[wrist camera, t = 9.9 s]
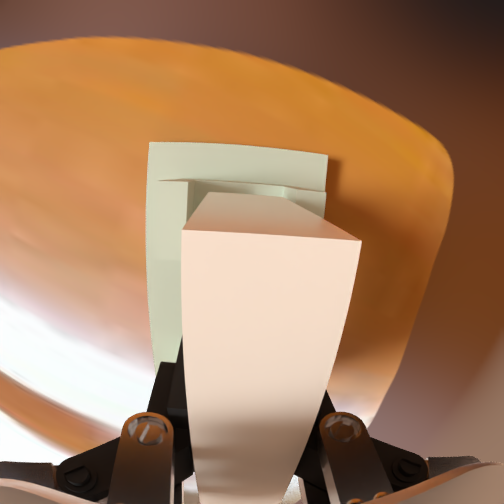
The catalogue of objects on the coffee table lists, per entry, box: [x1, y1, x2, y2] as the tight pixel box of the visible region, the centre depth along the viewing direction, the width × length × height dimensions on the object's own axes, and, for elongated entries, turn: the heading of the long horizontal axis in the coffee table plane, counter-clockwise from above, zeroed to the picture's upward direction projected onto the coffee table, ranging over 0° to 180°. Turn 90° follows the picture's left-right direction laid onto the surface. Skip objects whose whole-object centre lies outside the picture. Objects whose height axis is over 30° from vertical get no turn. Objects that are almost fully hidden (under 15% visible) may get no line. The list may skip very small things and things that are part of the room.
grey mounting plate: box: [146, 142, 328, 375], centre depth 15 cm, size 17×10×6 cm, turn 176°
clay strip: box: [181, 192, 362, 504], centre depth 8 cm, size 12×2×6 cm, turn 175°
